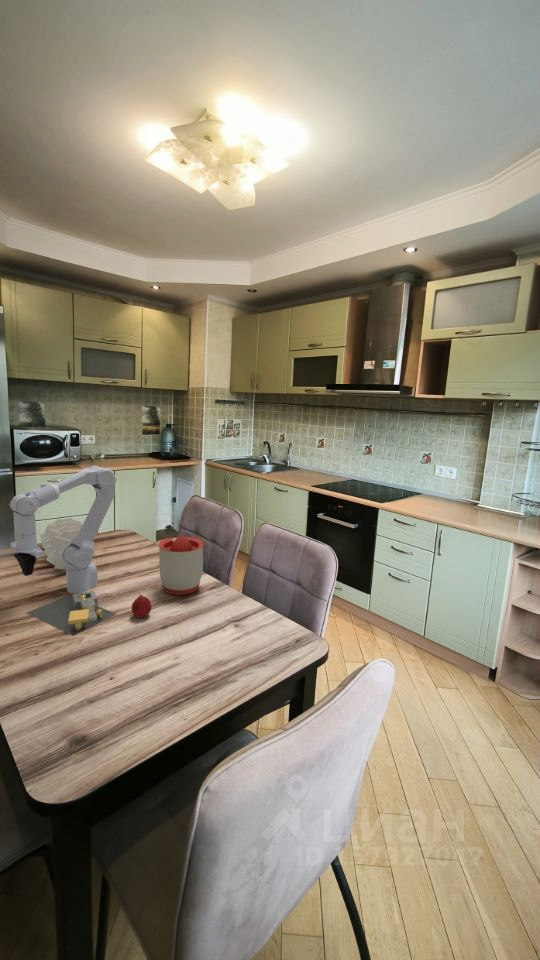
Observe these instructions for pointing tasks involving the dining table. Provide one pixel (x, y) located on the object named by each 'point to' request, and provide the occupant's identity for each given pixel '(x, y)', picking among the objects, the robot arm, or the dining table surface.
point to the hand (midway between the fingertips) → (28, 574)
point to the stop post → (99, 613)
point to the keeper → (78, 618)
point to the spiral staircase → (59, 539)
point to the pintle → (82, 596)
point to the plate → (65, 615)
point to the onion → (141, 606)
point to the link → (87, 604)
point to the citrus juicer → (181, 564)
